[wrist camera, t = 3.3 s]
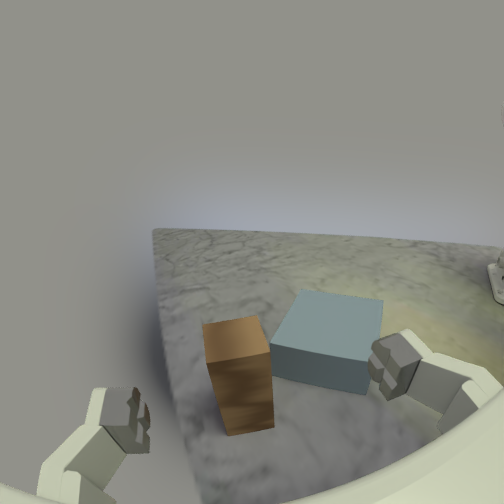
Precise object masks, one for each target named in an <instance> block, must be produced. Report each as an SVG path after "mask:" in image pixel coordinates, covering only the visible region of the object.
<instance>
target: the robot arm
mask: <svg viewBox="0 0 504 504" xmlns="http://www.w3.org/2000/svg"><path fill="white" fill-rule="evenodd" d="M502 122H503V126H504V103H503V106H502ZM487 271H488V275H489V279H490V282H491V286H492V290H493V295H494V299H495V300H496V301H497V302H499V303H501V304H503V305H504V249H503V250H502V251H501V253H500V256H499V257H498V260H497V263H493V264H489V265H488V267H487ZM371 350H372V351H373V353H372V354H371V355H370V357H369V358H368V363H367V366H368V372H369V374H370V377H371V378H372V380H373V381H375V382H377V383H380V385H379V390H380V391H381V393H382V394H383V395H384V397H385V398H386V400H387V401H389V400H392V399H394V398H397V397H399V396H401V395H403V394H406V395H408V396H410V397H411V398H413V399H415V400H417V401H419V402H421V403H423V404H425V405H426V406H428V407H430V408H432V409H434V410H436V411H438V412H440V413H442V414H444V415H443V416H442V418H441V419H440V421H439V422H438V425H437V427H438V428H439V430H440V431H441V433H442V434H443V435H441V436H440V437H438V438H437V439H435V440H433V441H432V442H430V443H429V444H427V445H425V446H424V447H422V448H420V449H418V450H417V451H415V452H413V453H411V454H409V455H408V456H406V457H404V458H402V459H400V460H398V461H396V462H394V463H392V464H390V465H388V466H386V467H384V468H382V469H379V470H377V471H375V472H373V473H371V474H368V475H366V476H364V477H361V478H359V479H356V480H354V481H351V482H349V483H346V484H343V485H341V486H338V487H335V488H332V489H329V490H326V491H323V492H320V493H317V494H314V495H310V496H307V497H303V498H300V499H296V500H292V501H288V502H284V503H280V504H504V387H503V386H502V385H501V384H500V383H499V382H498V381H497V380H496V379H495V378H494V377H493V376H492V375H491V374H490V373H489V372H488V371H487V370H486V369H485V368H483V367H480V366H477V365H474V364H471V363H468V362H465V361H461V360H458V359H455V358H452V357H449V356H446V355H443V354H440V353H437V352H436V353H433V352H432V351H431V350H430V349H429V348H428V347H427V346H426V345H425V344H424V343H423V342H422V341H421V340H420V339H419V338H418V337H417V336H416V335H415V334H414V333H413V332H412V331H411V330H409V329H405V330H403V331H400V332H397V333H394V334H392V335H389V336H386V337H383V338H380V339H378V340H375V341H374V342H373V343H372V346H371ZM149 428H150V414H149V410H148V407H147V405H146V403H145V402H144V401H142V400H141V399H140V392H139V391H138V389H137V388H135V387H132V388H131V387H128V388H95V389H94V390H93V391H92V395H91V399H90V403H89V407H88V411H87V416H86V420H85V425H81V426H79V427H78V428H77V429H76V430H75V432H73V433H72V434H71V435H70V436H69V437H68V438H67V439H66V440H65V441H64V442H63V444H62V445H61V446H60V447H59V448H58V449H57V450H56V451H55V452H54V453H53V454H52V455H51V456H50V457H49V458H48V459H47V460H46V461H45V462H44V463H43V464H42V467H41V472H40V477H39V482H38V487H37V493H36V495H33V494H29V493H27V492H24V491H21V490H18V489H15V488H13V487H10V486H7V485H5V484H3V483H0V504H116V501H115V500H114V499H113V498H112V497H111V496H109V495H108V494H106V493H105V492H103V490H104V489H105V487H106V486H107V484H108V483H109V481H110V480H111V478H112V477H113V475H114V474H115V472H116V471H117V469H118V468H119V466H120V465H121V463H122V462H123V460H124V458H125V457H126V456H127V455H126V454H143V453H149V448H150V437H149V436H148V434H147V433H146V431H147V430H148V429H149Z"/></svg>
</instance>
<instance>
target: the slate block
mask: <svg viewBox="0 0 504 504" xmlns="http://www.w3.org/2000/svg"><path fill="white" fill-rule="evenodd" d="M382 311H383V300H376V299H368V298H361V297H353V296H346V295H339V294H332V293H325V292H318V291H312V290H305V289H301V290H300V292H299V294H298V296H297V297H296V299H295V301H294V303H293V304H292V306H291V308H290V309H289V311H288V313H287V315H286V316H285V318H284V320H283V321H282V323H281V325H280V326H279V328H278V330H277V331H276V333H275V335H274V336H273V338H272V340H271V341H270V354H271V371H272V375H273V376H277V377H280V378H284V379H288V380H293V381H297V382H301V383H306V384H310V385H315V386H319V387H324V388H329V389H334V390H340V391H345V392H351V393H357V394H363V395H366V393H367V390H368V387H369V384H370V380H371V377H370V374H369V372H368V366H367V363H368V358H369V357H370V355H371V354H372V353H373V351H372V350H371V346H372V343H373V342H374V341H375V340H378V339H379V337H380V329H381V321H382Z"/></svg>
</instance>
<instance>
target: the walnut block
mask: <svg viewBox="0 0 504 504" xmlns="http://www.w3.org/2000/svg"><path fill="white" fill-rule="evenodd" d="M203 336H204V346H205V356H206V364H207V368H208V371H209V375H210V378H211V382H212V385H213V389H214V392H215V396H216V399H217V402H218V406H219V409H220V412H221V415H222V419H223V422H224V425H225V428H226V431H227V434H228V436H233V435H239V434H244V433H250V432H255V431H260V430H264V429H269V428H274V408H273V389H272V371H271V354H270V349H269V347H268V344H267V341H266V339H265V336H264V333H263V331H262V328H261V325H260V323H259V320H258V317H257V315H256V316H251V317H245V318H239V319H234V320H228V321H222V322H216V323H209V324H203Z"/></svg>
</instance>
